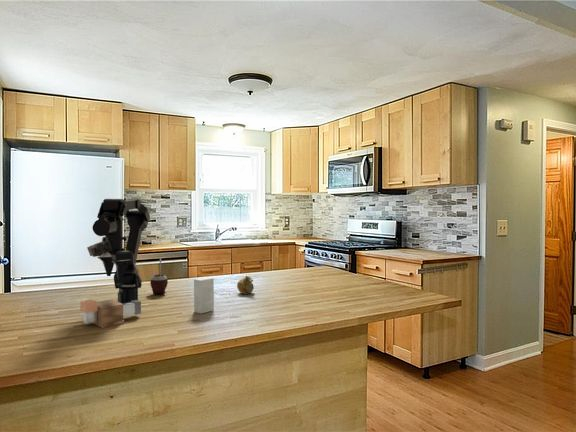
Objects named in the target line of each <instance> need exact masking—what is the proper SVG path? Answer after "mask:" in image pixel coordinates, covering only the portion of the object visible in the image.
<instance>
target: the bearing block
mask: <svg viewBox="0 0 576 432" xmlns="http://www.w3.org/2000/svg"><path fill="white" fill-rule="evenodd" d="M97 302H98V322H93V323H92V324H93V325H96V326H98V327H99V328H102V329H105V328H109V327H113V326H119V325H123V324H125V319H124V316H123V304H122V303H119V302H118V301H117V300H113V299H108V300H102V301H97Z"/></svg>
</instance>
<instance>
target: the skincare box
mask: <svg viewBox="0 0 576 432" xmlns="http://www.w3.org/2000/svg"><path fill="white" fill-rule="evenodd" d="M214 280H215V279H214V278H213V277H209V276H205V277H198V278H195V279H193V298H194V299H193V303H194V304H193V305H194V307H193V310H194V313H199V314H204V313H208V312H212V311H215V302H214V301H215V290H214V288H215V287H214V286H215V284H214Z"/></svg>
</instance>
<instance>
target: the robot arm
mask: <svg viewBox="0 0 576 432" xmlns="http://www.w3.org/2000/svg"><path fill="white" fill-rule="evenodd" d="M134 209H135V210H134ZM124 216H125V218H126V220H127V221H126V223H127V225H128V227H129V232H128V235H127V241H126V246H125V248H124V246H123V242H124V240H125V239H126V237H125V236H123V235H124V234H123V230H124V227H123V224H124V223H123V221H125V220H124ZM96 217H97V220H95V222H94V223H93V225H92V230H93V233H94V234H95V235H96V236H98V237H102V238H101V241H99V242H97V243H95V244H92V245H90V246H87V247H86V248H87V251H88V254H89V256H90V257H93V258H97V259H98V260H100V261H101V262H102V264H103V267H104V270H105V274H106V276H107V277H110V276H111V275H112V273H113V269H114V266H115V271H114V275H113V282H114V287H115V289H118V291H117V302H119V303H122V304H124V303H129V302H131V301H133V300H138V301H139V289H141V288H142V285H143V284H142V279H141V277H140V275H139V272H140V271H139V269H138V267H137V258H138V255H139V249H140V243H141V238H142V234H143V232H144V231H145V230H146V229H147V228H148V225H149V222H150V220H151V215H150V212H149V209H148V208H147V207H146V206H145V205H144V204H142V202H141V199H138V198H127V199H123V198H104V199H103V201H102V202H101V203H100V207H99V211H98V213H97V216H96Z"/></svg>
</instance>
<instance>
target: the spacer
mask: <svg viewBox="0 0 576 432" xmlns="http://www.w3.org/2000/svg"><path fill="white" fill-rule="evenodd" d="M98 302H99V301H97V300H95V299H92V298H91V299H87V300H80V303H79V305H80V308H79V309H80V310H79V311H80V312H82V313H83V312H84V313H90V312H96V311H98Z"/></svg>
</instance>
